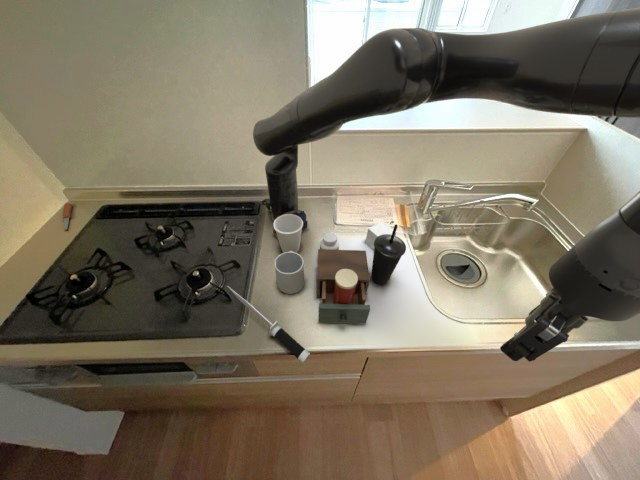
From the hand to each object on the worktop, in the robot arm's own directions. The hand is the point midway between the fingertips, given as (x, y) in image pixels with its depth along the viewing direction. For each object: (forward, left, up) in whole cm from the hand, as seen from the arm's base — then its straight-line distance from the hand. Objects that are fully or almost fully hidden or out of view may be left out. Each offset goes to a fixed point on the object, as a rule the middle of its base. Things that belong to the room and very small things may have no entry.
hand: (522, 335), depth 36 cm
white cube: (-38, +16, -24) cm, 48 cm away
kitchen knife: (-108, -60, -23) cm, 126 cm away
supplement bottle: (-42, -1, -24) cm, 48 cm away
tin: (-27, -8, -22) cm, 36 cm away
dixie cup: (-53, -7, -24) cm, 58 cm away
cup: (-43, -13, -24) cm, 51 cm away
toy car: (-61, -3, -20) cm, 65 cm away
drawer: (-27, -8, -23) cm, 36 cm away
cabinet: (-34, -3, -24) cm, 41 cm away
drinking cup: (-28, +7, -24) cm, 38 cm away
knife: (-35, -26, -23) cm, 49 cm away
